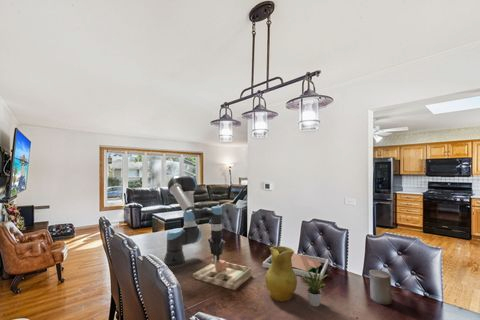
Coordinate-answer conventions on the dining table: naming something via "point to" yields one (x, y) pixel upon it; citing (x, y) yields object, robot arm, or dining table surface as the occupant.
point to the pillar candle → (380, 286)
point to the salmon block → (220, 265)
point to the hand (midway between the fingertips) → (216, 265)
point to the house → (304, 262)
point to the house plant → (314, 288)
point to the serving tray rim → (299, 272)
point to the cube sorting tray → (224, 275)
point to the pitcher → (281, 274)
